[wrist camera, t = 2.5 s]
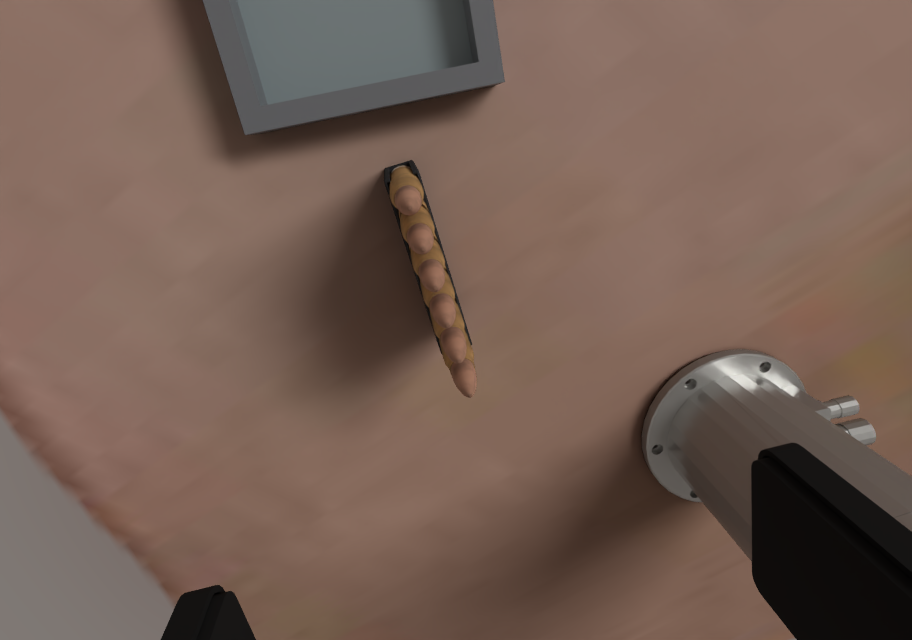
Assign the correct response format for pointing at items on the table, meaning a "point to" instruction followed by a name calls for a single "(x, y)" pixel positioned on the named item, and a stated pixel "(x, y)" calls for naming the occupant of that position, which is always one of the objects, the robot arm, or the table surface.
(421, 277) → the ammunition clip
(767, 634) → the table surface
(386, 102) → the holder tray
